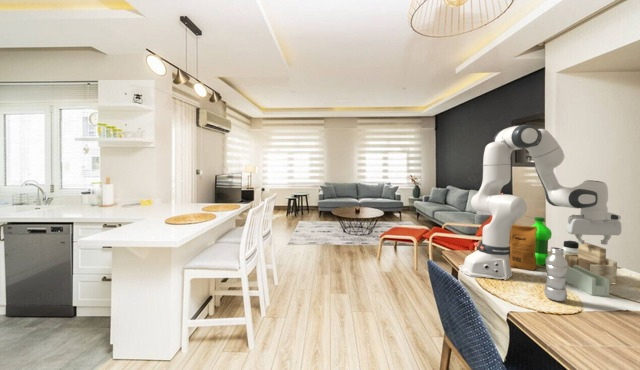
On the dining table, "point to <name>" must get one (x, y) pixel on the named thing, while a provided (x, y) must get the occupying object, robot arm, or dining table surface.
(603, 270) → the box
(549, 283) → the plastic bottle
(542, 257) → the plastic bottle
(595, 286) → the stand
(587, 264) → the offcut tall
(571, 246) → the medicine bottle
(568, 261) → the offcut low
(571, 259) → the offcut top
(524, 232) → the coffee package
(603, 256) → the light wood flat panel
